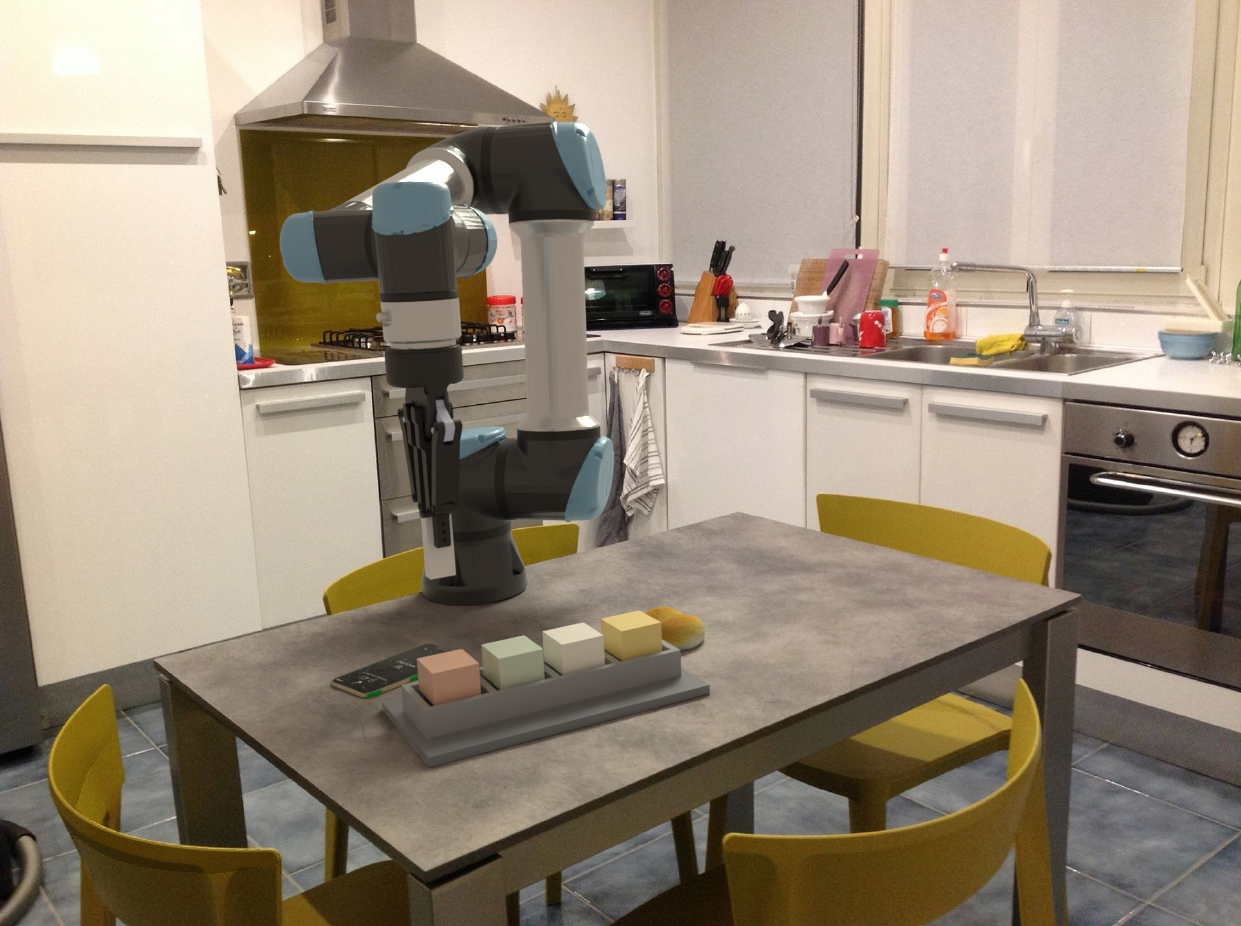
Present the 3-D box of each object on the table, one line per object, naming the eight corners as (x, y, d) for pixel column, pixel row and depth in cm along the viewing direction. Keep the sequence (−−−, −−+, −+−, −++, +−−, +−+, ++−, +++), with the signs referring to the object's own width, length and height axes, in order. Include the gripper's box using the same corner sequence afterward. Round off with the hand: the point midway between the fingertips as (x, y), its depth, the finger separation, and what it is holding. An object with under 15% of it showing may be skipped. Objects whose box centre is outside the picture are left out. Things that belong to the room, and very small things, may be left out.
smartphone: (468, 654, 137) (366, 694, 126) (468, 661, 137) (367, 703, 126) (427, 641, 142) (326, 679, 131) (428, 648, 142) (327, 687, 131)
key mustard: (602, 647, 129) (600, 618, 128) (640, 639, 131) (639, 610, 130) (622, 661, 124) (621, 631, 123) (662, 652, 126) (661, 622, 126)
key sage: (483, 675, 122) (481, 644, 121) (526, 665, 124) (524, 635, 124) (500, 690, 118) (498, 658, 117) (544, 680, 120) (542, 648, 119)
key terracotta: (419, 689, 119) (416, 658, 118) (464, 679, 121) (462, 648, 120) (434, 706, 114) (432, 673, 114) (481, 695, 117) (478, 663, 116)
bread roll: (672, 659, 135) (671, 627, 134) (623, 641, 141) (621, 610, 141) (720, 640, 140) (719, 609, 139) (671, 624, 147) (669, 594, 146)
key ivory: (544, 661, 125) (542, 631, 125) (584, 651, 128) (583, 622, 127) (563, 675, 121) (561, 644, 120) (605, 665, 123) (603, 635, 122)
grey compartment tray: (382, 709, 123) (379, 675, 122) (639, 649, 138) (638, 618, 137) (429, 766, 109) (426, 728, 108) (709, 693, 124) (708, 658, 123)
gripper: (366, 342, 115) (386, 566, 119) (405, 351, 103) (425, 598, 108) (437, 337, 118) (453, 554, 123) (482, 345, 107) (499, 584, 111)
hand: (440, 575), depth 115 cm, fingers closed
